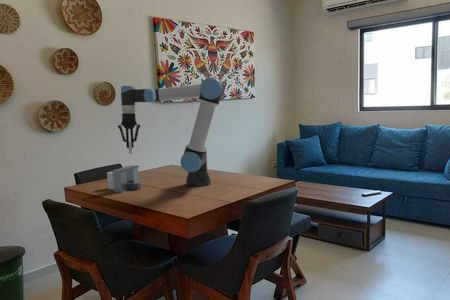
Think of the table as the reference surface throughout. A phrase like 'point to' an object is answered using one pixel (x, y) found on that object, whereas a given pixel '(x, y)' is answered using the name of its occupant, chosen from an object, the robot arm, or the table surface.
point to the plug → (129, 185)
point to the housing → (125, 177)
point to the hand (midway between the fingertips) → (130, 153)
